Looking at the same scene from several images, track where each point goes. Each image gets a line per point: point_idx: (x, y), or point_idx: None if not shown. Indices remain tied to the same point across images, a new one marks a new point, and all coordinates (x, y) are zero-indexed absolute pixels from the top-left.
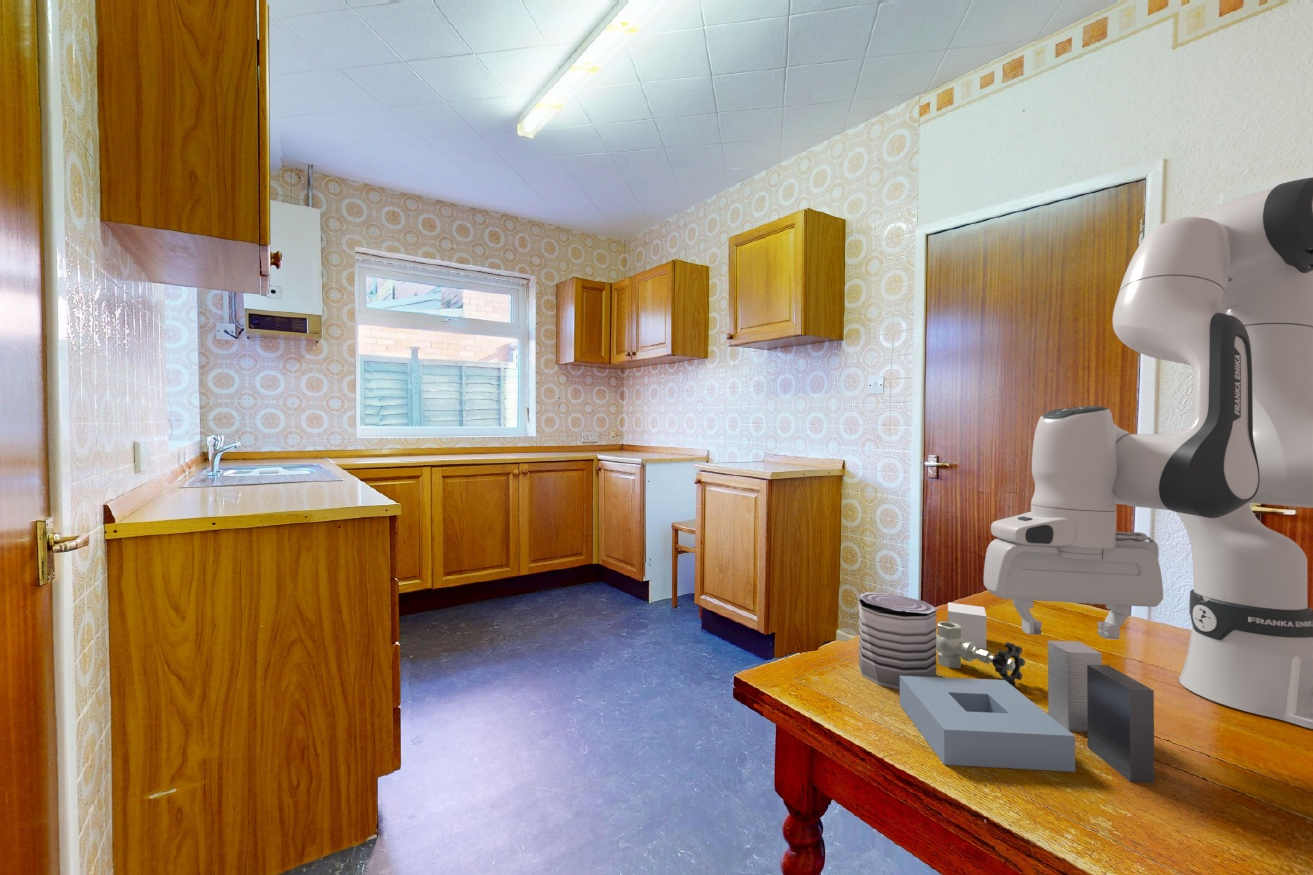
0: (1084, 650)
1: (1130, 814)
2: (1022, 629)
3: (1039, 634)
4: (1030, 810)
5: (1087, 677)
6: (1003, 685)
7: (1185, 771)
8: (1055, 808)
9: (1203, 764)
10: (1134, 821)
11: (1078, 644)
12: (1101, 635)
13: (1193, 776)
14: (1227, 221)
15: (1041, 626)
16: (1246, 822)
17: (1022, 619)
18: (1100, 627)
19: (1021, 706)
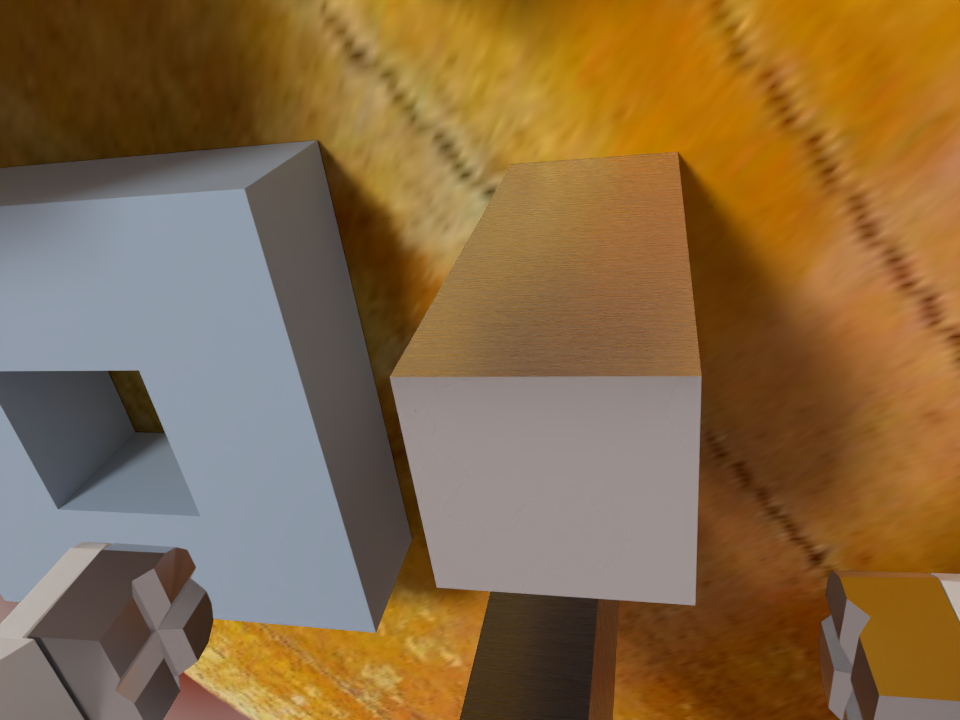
0: (589, 561)
1: (460, 663)
2: (84, 547)
3: (206, 616)
4: (248, 648)
5: (475, 656)
6: (223, 266)
7: (790, 527)
8: (302, 645)
9: (916, 490)
10: (455, 679)
11: (634, 443)
12: (829, 608)
13: (790, 548)
14: None
15: (176, 696)
16: (734, 692)
17: (14, 619)
18: (853, 673)
19: (257, 466)
